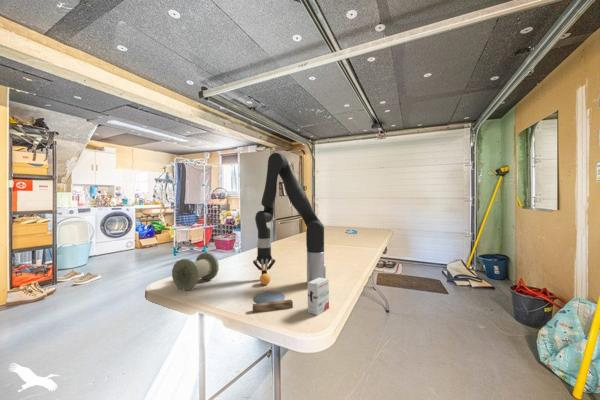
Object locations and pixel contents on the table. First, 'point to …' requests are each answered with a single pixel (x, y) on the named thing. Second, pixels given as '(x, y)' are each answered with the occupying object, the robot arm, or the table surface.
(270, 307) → the brown square bar
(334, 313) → the table surface
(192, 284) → the spool
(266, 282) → the ball
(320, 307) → the ink box
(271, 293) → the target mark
